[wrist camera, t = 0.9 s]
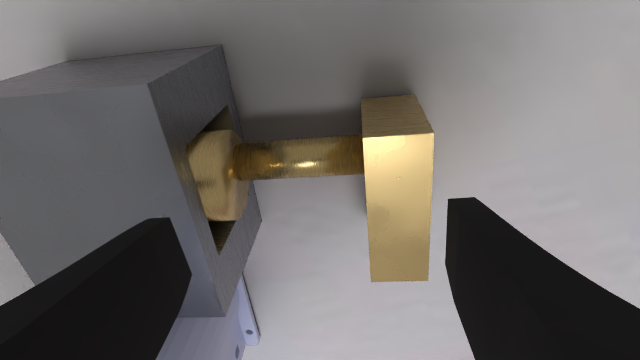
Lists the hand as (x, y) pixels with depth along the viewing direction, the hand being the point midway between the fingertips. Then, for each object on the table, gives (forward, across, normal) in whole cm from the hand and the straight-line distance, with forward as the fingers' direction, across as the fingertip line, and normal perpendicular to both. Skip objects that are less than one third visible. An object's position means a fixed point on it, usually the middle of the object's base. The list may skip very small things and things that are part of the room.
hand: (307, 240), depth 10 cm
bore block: (+10, +9, +1) cm, 13 cm away
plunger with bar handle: (+10, +4, +3) cm, 11 cm away
